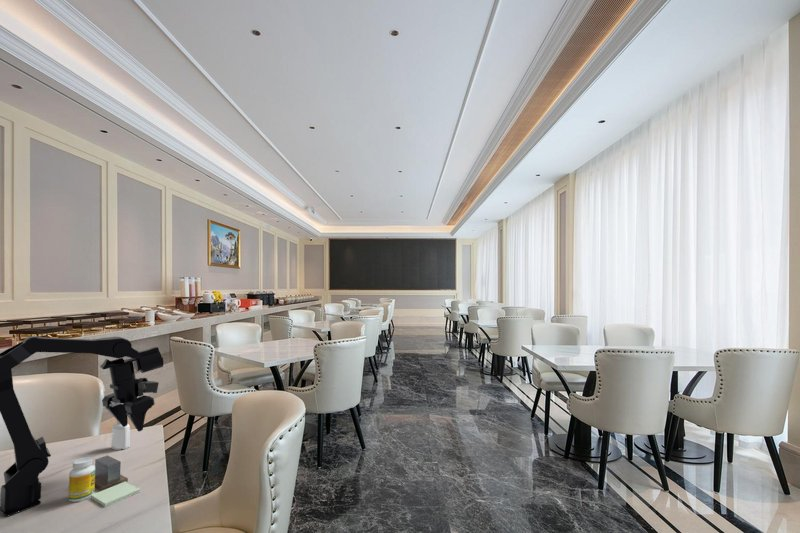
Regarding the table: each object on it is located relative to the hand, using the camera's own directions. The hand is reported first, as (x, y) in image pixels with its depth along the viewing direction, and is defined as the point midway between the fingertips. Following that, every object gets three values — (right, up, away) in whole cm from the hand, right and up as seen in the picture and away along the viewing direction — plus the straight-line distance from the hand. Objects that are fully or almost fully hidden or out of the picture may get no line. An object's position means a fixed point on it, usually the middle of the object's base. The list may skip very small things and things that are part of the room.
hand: (132, 428), depth 115 cm
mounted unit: (-3, -13, -6) cm, 14 cm away
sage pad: (+5, -12, -13) cm, 19 cm away
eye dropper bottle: (-16, -14, +17) cm, 27 cm away
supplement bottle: (-4, -12, -14) cm, 19 cm away
